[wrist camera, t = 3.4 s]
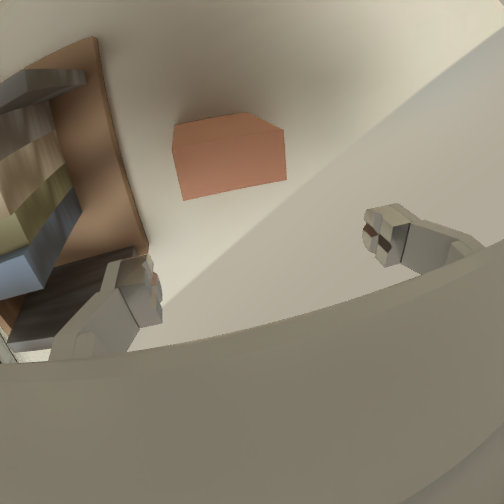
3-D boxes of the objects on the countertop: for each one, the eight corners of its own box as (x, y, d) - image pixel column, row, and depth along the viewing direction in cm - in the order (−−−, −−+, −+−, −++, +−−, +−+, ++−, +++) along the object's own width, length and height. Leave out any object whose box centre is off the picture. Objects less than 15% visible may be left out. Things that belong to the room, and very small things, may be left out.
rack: (-25, 106, 12) (-105, 142, 3) (97, 38, 14) (32, 11, 5) (39, 274, 24) (6, 357, 15) (148, 244, 26) (142, 339, 17)
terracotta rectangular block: (174, 125, 20) (171, 149, 13) (246, 112, 21) (283, 130, 14) (181, 158, 22) (183, 201, 15) (250, 145, 23) (286, 179, 16)
